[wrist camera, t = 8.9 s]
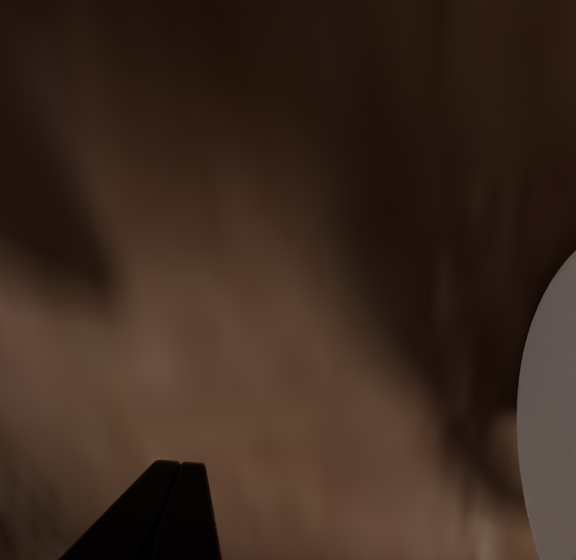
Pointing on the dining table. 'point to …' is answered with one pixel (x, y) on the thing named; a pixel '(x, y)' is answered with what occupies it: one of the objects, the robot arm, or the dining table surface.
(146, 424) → the dining table surface
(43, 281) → the dining table surface
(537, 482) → the mug
